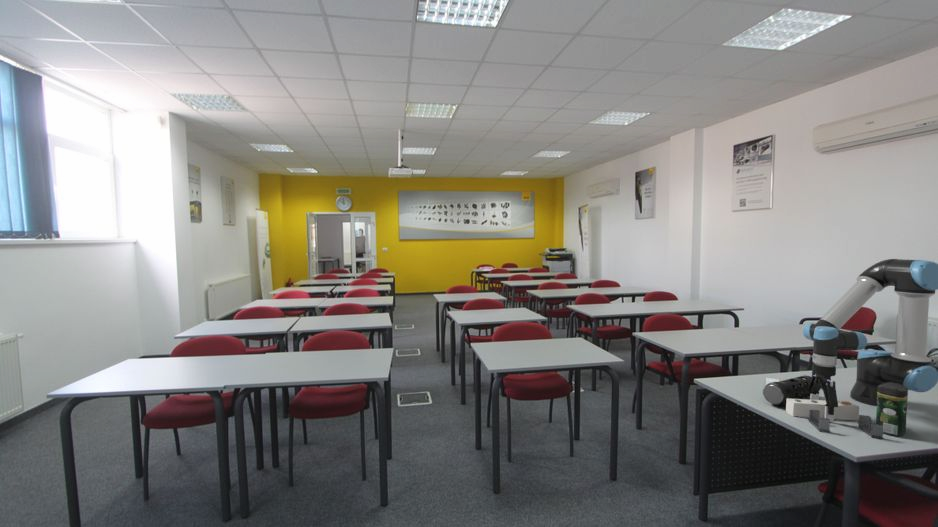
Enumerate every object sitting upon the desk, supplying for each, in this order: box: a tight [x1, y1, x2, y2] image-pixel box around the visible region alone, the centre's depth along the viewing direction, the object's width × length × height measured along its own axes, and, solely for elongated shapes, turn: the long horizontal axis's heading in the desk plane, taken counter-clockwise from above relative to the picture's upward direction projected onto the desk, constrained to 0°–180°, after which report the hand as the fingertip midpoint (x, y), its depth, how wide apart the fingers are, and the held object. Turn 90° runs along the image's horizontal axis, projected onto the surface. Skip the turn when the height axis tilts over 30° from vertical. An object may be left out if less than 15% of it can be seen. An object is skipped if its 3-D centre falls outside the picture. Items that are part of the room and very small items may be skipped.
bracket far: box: [808, 410, 831, 434], centre depth 164 cm, size 3×9×5 cm, turn 162°
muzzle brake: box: [762, 375, 812, 406], centre depth 189 cm, size 10×28×10 cm, turn 115°
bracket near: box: [857, 414, 884, 440], centre depth 159 cm, size 3×9×5 cm, turn 162°
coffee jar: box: [875, 382, 909, 437], centre depth 160 cm, size 10×8×19 cm
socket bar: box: [785, 398, 860, 421], centre depth 174 cm, size 24×5×7 cm, turn 81°
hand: (821, 415), depth 174 cm, fingers open, 12 cm apart
